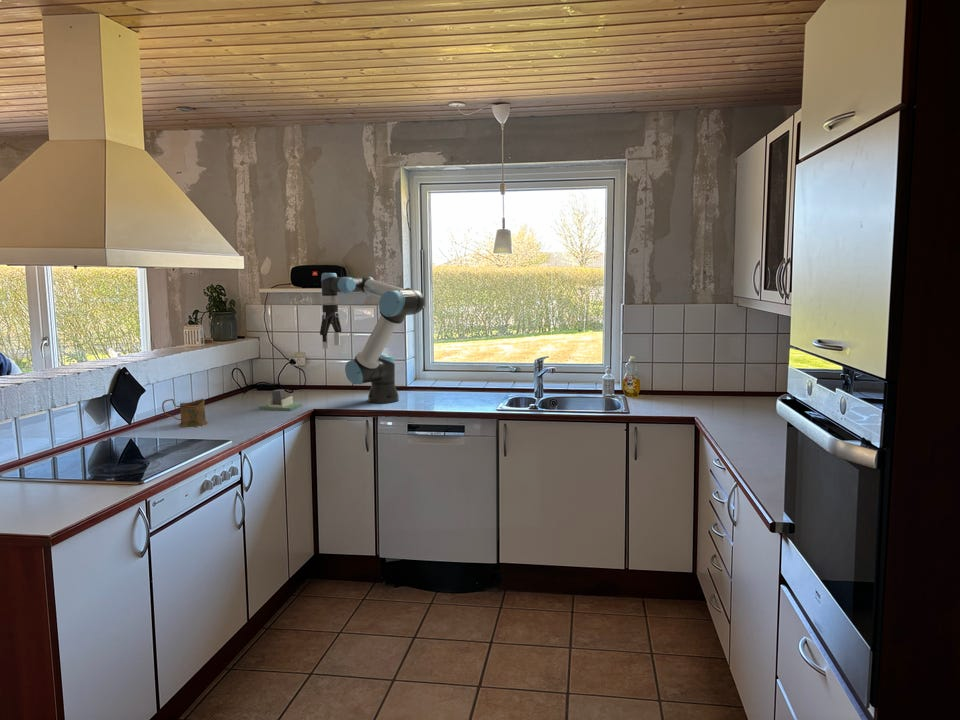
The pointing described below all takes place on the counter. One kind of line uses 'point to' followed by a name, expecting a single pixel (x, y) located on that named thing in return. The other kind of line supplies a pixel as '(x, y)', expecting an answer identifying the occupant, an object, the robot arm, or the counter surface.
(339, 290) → the robot arm
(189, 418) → the mug
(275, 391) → the plug
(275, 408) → the board
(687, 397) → the counter surface
